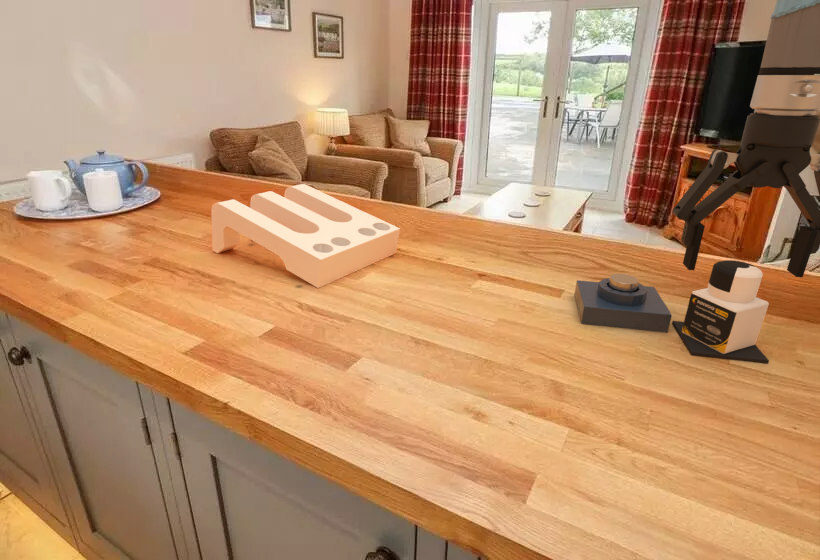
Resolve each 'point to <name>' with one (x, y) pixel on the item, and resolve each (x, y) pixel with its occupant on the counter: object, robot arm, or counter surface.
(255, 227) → the bracket
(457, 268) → the counter surface
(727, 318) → the medicine bottle
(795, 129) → the robot arm
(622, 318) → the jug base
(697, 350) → the mat
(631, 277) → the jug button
